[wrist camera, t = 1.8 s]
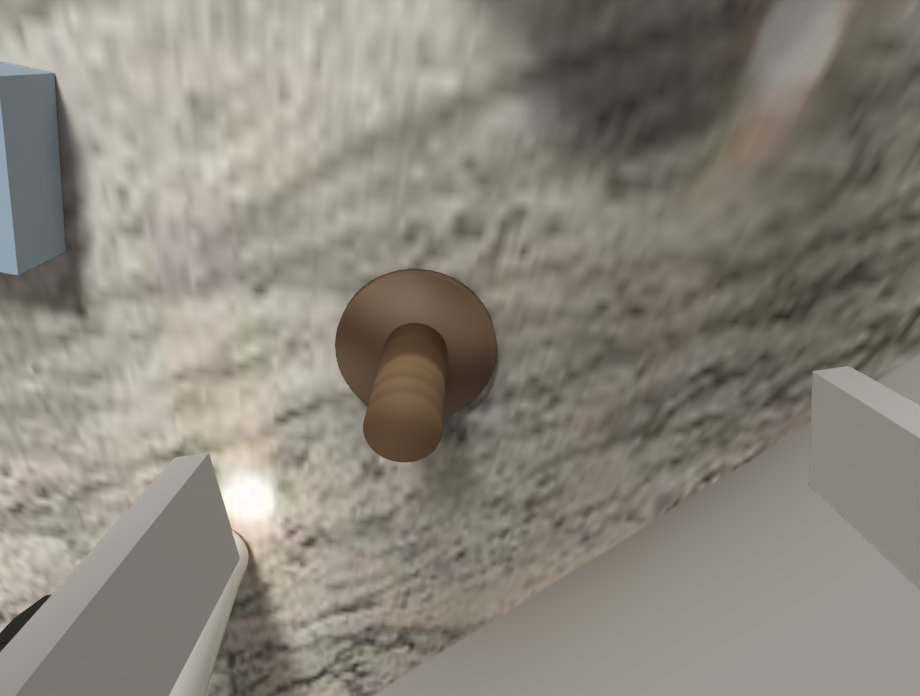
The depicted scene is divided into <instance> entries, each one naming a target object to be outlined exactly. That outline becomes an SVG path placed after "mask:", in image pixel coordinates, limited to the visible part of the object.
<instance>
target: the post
mask: <svg viewBox="0 0 920 696" xmlns="http://www.w3.org/2000/svg"><path fill="white" fill-rule="evenodd" d="M335 349H336V357H337V362H338V366H339V368H340V371H341V373H342V375H343V377H344V379H345V381H346V382H347V384H348V385H349V387H350V388H351V389H352V391H353V392H354V393H355V394H356V395H357V396H358V397H359V398H360V399H362V400H363V401H364V402H365V403H366V404H368V408H367V412H366V416H365V419H364V424H363V431H364V436H365V438H366V441H367V443H368V444H369V446H370V447H371V448H372V449H373V450H374V451H375V452H376V453H377V454H379V455H380V456H382V457H384V458H386V459H389V460H391V461H396V462H413V461H417V460H420V459H422V458H425V457H426V456H428V455H429V454H431V453H432V452H433V451H434V450H435V449H436V447H437V446H438V444H439V442H440V439H441V436H442V424H443V417H444V416H447V415H450V414H452V413H454V412H456V411H458V410H460V409H462V408H463V407H465V406H467V405H468V404H469V403H470V402H472V401H473V400H474V399H475V398H476V397H477V396H478V395H479V394H480V393H481V392H482V390H483V389H484V387H485V386H486V384H487V383H488V381H489V379H490V377H491V375H492V372H493V369H494V365H495V359H496V340H495V331H494V327H493V323H492V320H491V318H490V315H489V313H488V311H487V310H486V308H485V306H484V304H483V303H482V302H481V301H480V299H479V298H478V297H477V296H476V295H475V294H474V293H473V292H472V291H471V290H470V289H469V288H468V287H466V286H465V285H464V284H462V283H461V282H459V281H457V280H455V279H454V278H452V277H449V276H447V275H444V274H442V273H438V272H434V271H430V270H422V269H407V270H399V271H395V272H391V273H387V274H385V275H382V276H380V277H378V278H376V279H374V280H372V281H371V282H369V283H368V284H366V285H365V286H364V287H362V288H361V289H360V290H359V291H358V292H357V293H356V294H355V295H354V297H353V298H352V299H351V301H350V302H349V304H348V305H347V307H346V309H345V311H344V313H343V315H342V317H341V320H340V322H339V325H338V328H337V333H336V342H335Z"/></svg>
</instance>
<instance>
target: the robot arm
mask: <svg viewBox="0 0 920 696" xmlns="http://www.w3.org/2000/svg"><path fill="white" fill-rule="evenodd" d="M809 485H810V486H811V487H812V488H813V489H814V490H815V491H816V492H817V493H818V494H819V495H820V496H821V497H822V498H823V499H824V500H825V501H826V502H828V503H829V504H830V505H831V506H832V507H833V508H834V509H835V510H836V511H837V512H838V513H839V514H840V515H841V516H842V517H843V518H844V519H845V520H846V521H848V522H849V523H850V524H851V525H852V526H853V527H854V528H855V529H856V530H857V531H858V532H859V533H860V534H861V535H862V536H863V537H864V538H865V539H866V540H867V541H869V542H870V543H871V544H872V545H873V546H874V547H875V548H876V549H877V550H878V551H879V552H880V553H881V554H882V555H883V556H884V557H886V558H887V560H888V561H890V562H891V563H892V564H893V565H894V566H895V567H896V568H897V569H898V570H899V571H900V572H901V573H902V574H903V575H904V576H905V577H906V578H908V580H910V581H911V582H912V583H913V584H914V585H915V586H916V587H917V588H918V589H919V590H920V405H918V404H916V403H915V402H913V401H911V400H909V399H907V398H906V397H904V396H902V395H900V394H898V393H897V392H895V391H893V390H891V389H889V388H888V387H886V386H884V385H882V384H880V383H879V382H877V381H875V380H873V379H871V378H870V377H868V376H866V375H864V374H862V373H861V372H859V371H857V370H855V369H853V368H852V367H850V366H846V367H839V368H832V369H824V370H817V371H813V372H812V404H811V436H810V468H809ZM239 560H240V556H239V553H238V550H237V546H236V543H235V540H234V536H233V533H232V529H231V526H230V523H229V519H228V516H227V513H226V509H225V506H224V502H223V499H222V496H221V492H220V489H219V486H218V482H217V479H216V475H215V472H214V469H213V465H212V462H211V459H210V455H209V453H205V454H198V455H190V456H183V457H176V458H174V459H173V460H172V461H171V462H170V464H169V465H168V466H167V467H166V468H165V469H164V470H163V471H162V472H161V474H160V475H159V476H158V477H157V478H156V479H155V480H154V481H153V483H152V484H151V485H150V486H149V487H148V488H147V489H146V490H145V491H144V493H143V494H142V495H141V496H140V497H139V498H138V499H137V500H136V501H135V503H134V504H133V505H132V506H131V507H130V508H129V509H128V510H127V512H126V513H125V514H124V515H123V516H122V517H121V518H120V519H119V520H118V522H117V523H116V524H115V525H114V526H113V527H112V528H111V529H110V530H109V532H108V533H107V534H106V535H105V536H104V537H103V538H102V539H101V540H100V542H99V543H98V544H97V545H96V546H95V547H94V548H93V549H92V551H91V552H90V553H89V554H88V555H87V556H86V557H85V558H84V559H83V561H82V562H81V563H80V564H79V565H78V566H77V567H76V568H75V569H74V571H73V572H72V573H71V574H70V575H69V576H68V577H67V578H66V580H65V581H64V582H63V583H62V584H61V585H60V586H59V587H58V588H57V590H56V591H55V592H54V593H53V594H52V595H47V596H44V597H43V598H41V599H40V600H39V601H37V602H36V603H34V604H33V605H32V606H30V607H29V608H28V609H26V610H25V611H23V612H22V613H21V614H19V615H18V616H17V617H15V618H14V619H13V620H12V621H11V622H10V623H9V624H8V625H7V626H6V627H5V628H4V630H3V631H2V632H1V633H0V696H169V695H170V693H171V691H172V689H173V687H174V685H175V683H176V681H177V679H178V677H179V675H180V673H181V672H182V670H183V668H184V666H185V664H186V662H187V660H188V658H189V656H190V654H191V652H192V650H193V648H194V646H195V645H196V643H197V641H198V639H199V637H200V635H201V633H202V631H203V629H204V627H205V625H206V623H207V621H208V619H209V618H210V616H211V614H212V612H213V610H214V608H215V606H216V604H217V602H218V600H219V598H220V596H221V594H222V593H223V591H224V589H225V587H226V585H227V583H228V581H229V579H230V577H231V575H232V573H233V571H234V569H235V567H236V566H237V564H238V562H239Z"/></svg>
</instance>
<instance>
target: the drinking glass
mask: <svg viewBox="0 0 920 696" xmlns="http://www.w3.org/2000/svg"><path fill="white" fill-rule="evenodd" d="M232 533H233V536H234V540H235V543H236V546H237V550H238V553H239V556H240V560H239V562H238V564H237V566H236V567H235V569H234V571H233V573H232V575H231V577H230V579H229V581H228V583H227V585H226V587H225V589H224V591H223V593H222V594H221V596H220V598H219V600H218V602H217V604H216V606H215V608H214V610H213V612H212V614H211V616H210V618H209V619H208V621H207V623H206V625H205V627H204V629H203V631H202V633H201V635H200V637H199V639H198V641H197V643H196V645H195V646H194V648H193V650H192V652H191V654H190V656H189V658H188V660H187V662H186V664H185V666H184V668H183V670H182V672H181V673H180V675H179V677H178V679H177V681H176V683H175V685H174V687H173V689H172V691H171V693H170V695H169V696H205V695H206V692H207V688H208V685H209V682H210V679H211V675H212V672H213V669H214V666H215V662H216V659H217V656H218V653H219V649H220V646H221V643H222V640H223V636H224V633H225V630H226V627H227V623H228V620H229V617H230V614H231V611H232V607H233V604H234V601H235V598H236V595H237V592H238V589H239V586H240V583H241V581H242V579H243V576H244V574H245V571H246V569H247V566H248V561H249V554H248V550H247V547H246V544H245V543H244V541H243V540H242V538H241V537H240V536H239V535H238V534H237V533H236V532H234V531H233V530H232Z"/></svg>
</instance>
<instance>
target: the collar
mask: <svg viewBox="0 0 920 696" xmlns="http://www.w3.org/2000/svg"><path fill="white" fill-rule="evenodd" d="M64 252H66V243H65V228H64V213H63V198H62V182H61V167H60V152H59V136H58V121H57V106H56V91H55V75H54V73H51V72H46V71H42V70H37V69H32V68H28V67H23V66H19V65H14V64H9V63H5V62H0V272H2V273H7V274H13V275H20V274H22V273H24V272H26V271H28V270H30V269H32V268H34V267H36V266H38V265H40V264H42V263H44V262H46V261H48V260H50V259H52V258H54V257H56V256H58V255H60V254H62V253H64Z"/></svg>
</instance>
